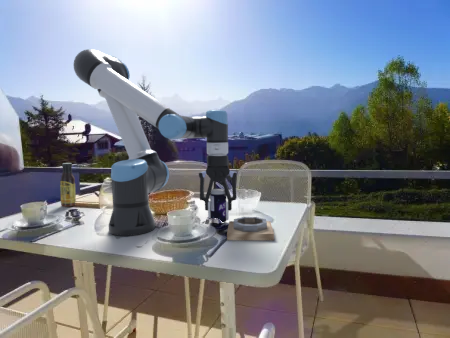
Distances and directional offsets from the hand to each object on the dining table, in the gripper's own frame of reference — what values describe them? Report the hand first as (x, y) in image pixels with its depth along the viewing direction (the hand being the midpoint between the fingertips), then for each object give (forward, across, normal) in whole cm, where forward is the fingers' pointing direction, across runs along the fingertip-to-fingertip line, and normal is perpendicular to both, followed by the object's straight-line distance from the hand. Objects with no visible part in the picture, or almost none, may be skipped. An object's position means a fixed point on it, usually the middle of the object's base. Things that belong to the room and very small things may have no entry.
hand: (218, 219), depth 117 cm
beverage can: (+2, 0, 0) cm, 2 cm away
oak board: (+1, +11, -12) cm, 16 cm away
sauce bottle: (+2, -72, +29) cm, 78 cm away
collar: (-1, +11, -12) cm, 16 cm away
